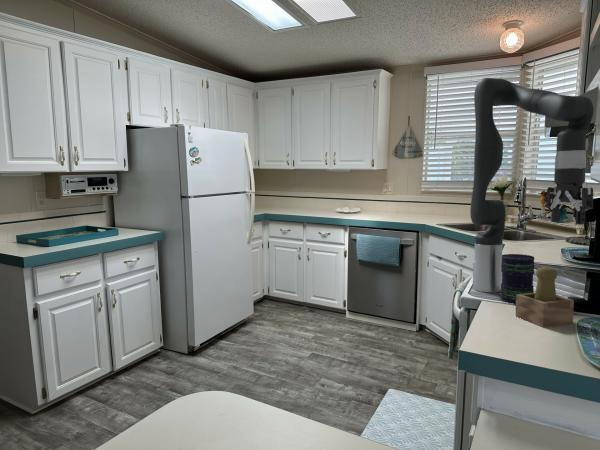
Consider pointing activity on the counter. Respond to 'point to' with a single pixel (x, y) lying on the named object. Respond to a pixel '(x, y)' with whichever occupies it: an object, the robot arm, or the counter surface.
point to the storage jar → (516, 276)
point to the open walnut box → (544, 310)
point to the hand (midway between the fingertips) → (567, 223)
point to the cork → (546, 284)
